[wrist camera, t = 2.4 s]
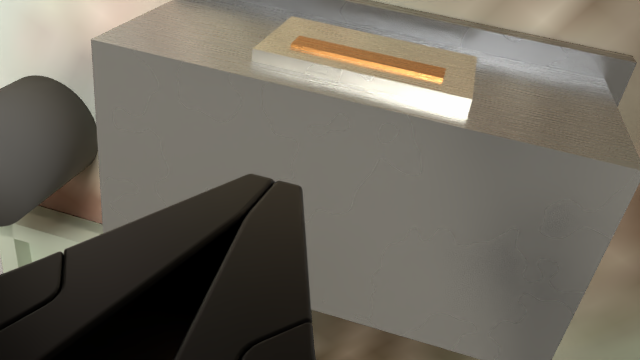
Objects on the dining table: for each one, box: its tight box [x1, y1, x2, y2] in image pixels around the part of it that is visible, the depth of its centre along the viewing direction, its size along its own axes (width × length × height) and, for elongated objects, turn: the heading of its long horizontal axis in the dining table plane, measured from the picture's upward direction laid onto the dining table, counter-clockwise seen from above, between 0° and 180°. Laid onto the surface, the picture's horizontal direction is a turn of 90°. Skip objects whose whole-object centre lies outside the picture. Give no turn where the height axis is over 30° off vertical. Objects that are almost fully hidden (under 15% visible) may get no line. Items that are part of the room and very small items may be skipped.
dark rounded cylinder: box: [0, 76, 98, 227], centre depth 21 cm, size 4×4×4 cm
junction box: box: [91, 0, 640, 360], centre depth 17 cm, size 7×13×6 cm, turn 81°
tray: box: [0, 206, 103, 273], centre depth 27 cm, size 12×11×1 cm
